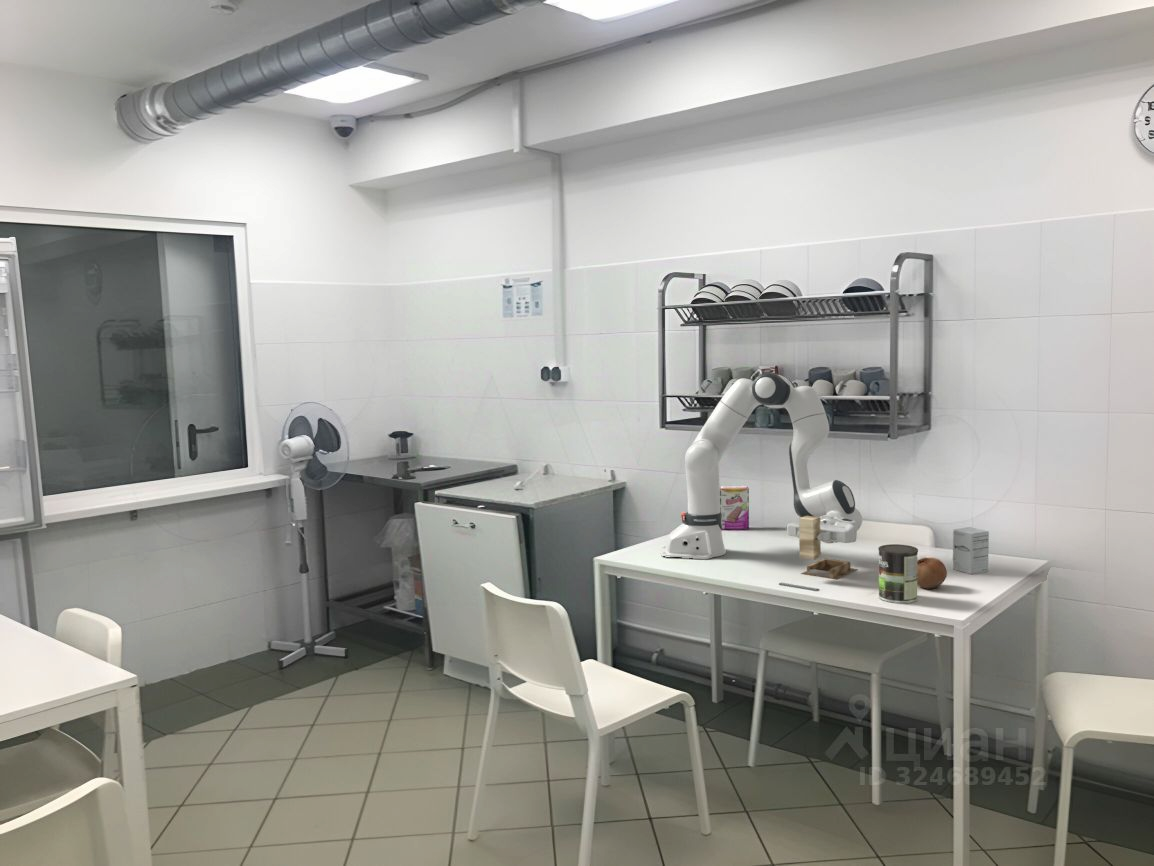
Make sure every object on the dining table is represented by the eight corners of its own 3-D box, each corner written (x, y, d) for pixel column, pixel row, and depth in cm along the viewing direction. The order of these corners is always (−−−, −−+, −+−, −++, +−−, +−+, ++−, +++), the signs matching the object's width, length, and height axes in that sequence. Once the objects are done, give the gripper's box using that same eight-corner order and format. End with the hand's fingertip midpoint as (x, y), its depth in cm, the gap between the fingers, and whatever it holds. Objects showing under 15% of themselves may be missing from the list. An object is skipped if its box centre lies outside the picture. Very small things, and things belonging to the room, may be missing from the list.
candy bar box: (720, 530, 346) (719, 488, 344) (719, 527, 351) (718, 486, 349) (749, 530, 345) (749, 487, 343) (748, 527, 350) (747, 485, 348)
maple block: (813, 559, 265) (813, 519, 264) (799, 557, 268) (799, 518, 267) (820, 556, 268) (820, 517, 267) (806, 554, 271) (806, 515, 270)
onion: (920, 600, 256) (908, 571, 254) (916, 583, 265) (904, 555, 262) (954, 590, 253) (942, 561, 251) (949, 573, 262) (936, 544, 259)
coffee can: (885, 604, 244) (885, 553, 242) (873, 593, 254) (873, 544, 253) (923, 603, 244) (923, 552, 242) (910, 592, 254) (910, 543, 252)
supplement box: (952, 569, 277) (952, 529, 276) (970, 566, 280) (970, 526, 279) (971, 574, 270) (971, 533, 269) (989, 571, 273) (989, 530, 272)
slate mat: (816, 590, 259) (816, 589, 259) (779, 584, 267) (778, 583, 267) (835, 581, 268) (835, 580, 268) (798, 576, 276) (798, 574, 276)
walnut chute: (836, 581, 268) (836, 571, 268) (800, 575, 276) (800, 565, 276) (858, 570, 279) (858, 561, 279) (823, 565, 287) (823, 556, 287)
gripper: (799, 514, 283) (777, 522, 273) (861, 521, 270) (840, 529, 260) (799, 534, 284) (777, 542, 274) (861, 542, 270) (840, 551, 260)
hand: (808, 536), depth 267 cm, fingers closed on maple block, 4 cm apart
